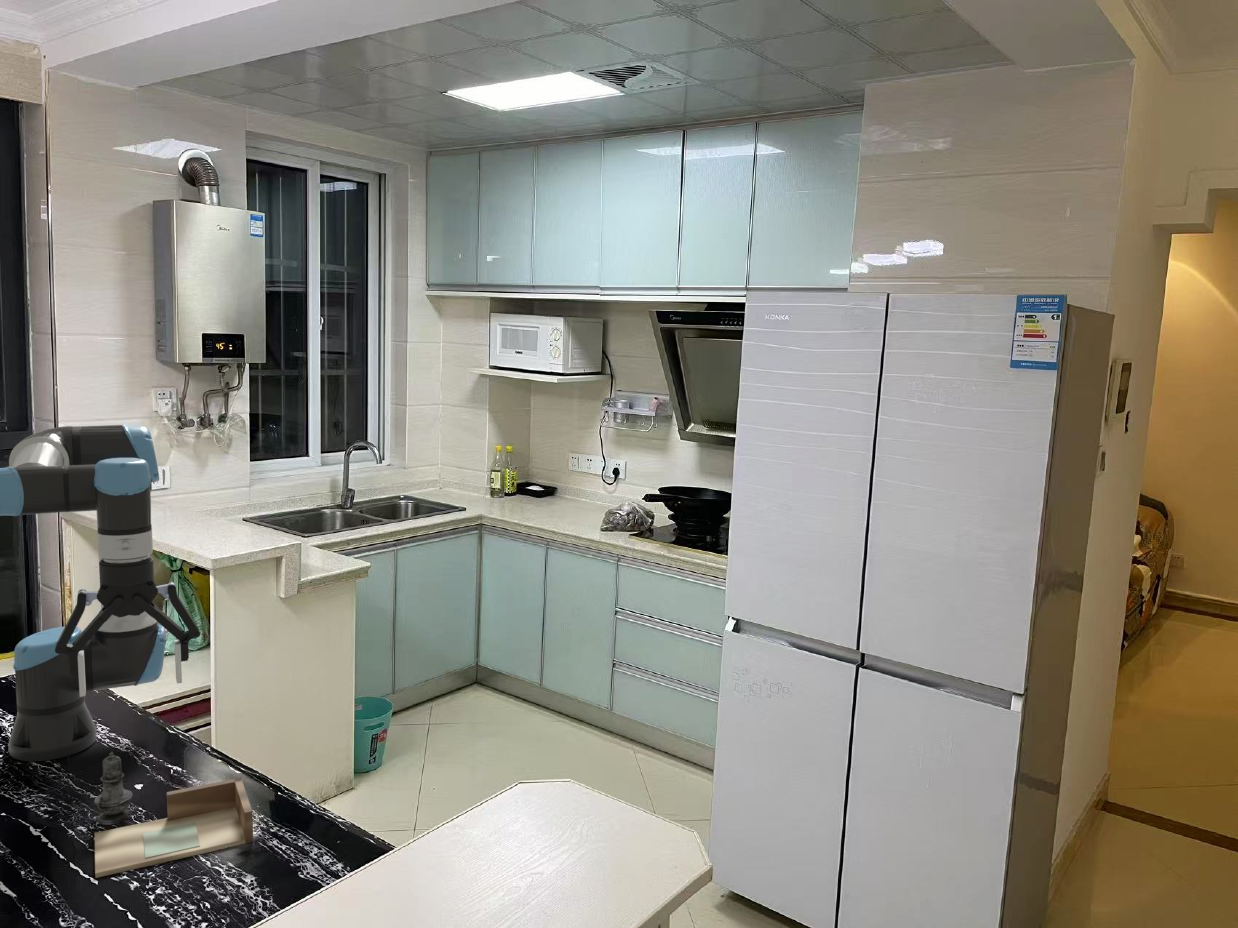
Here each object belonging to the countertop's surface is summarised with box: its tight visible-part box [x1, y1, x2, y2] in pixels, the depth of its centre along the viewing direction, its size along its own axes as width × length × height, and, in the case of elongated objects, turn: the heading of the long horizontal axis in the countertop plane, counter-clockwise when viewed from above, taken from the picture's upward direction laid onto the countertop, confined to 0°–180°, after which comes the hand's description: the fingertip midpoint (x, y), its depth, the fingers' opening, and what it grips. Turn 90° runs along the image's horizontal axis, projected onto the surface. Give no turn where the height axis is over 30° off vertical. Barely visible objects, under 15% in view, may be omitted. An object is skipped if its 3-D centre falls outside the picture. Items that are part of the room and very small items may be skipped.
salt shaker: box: [93, 751, 133, 826], centre depth 160 cm, size 6×6×12 cm
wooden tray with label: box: [94, 777, 254, 879], centre depth 154 cm, size 13×23×6 cm, turn 120°
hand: (131, 686), depth 148 cm, fingers open, 13 cm apart
